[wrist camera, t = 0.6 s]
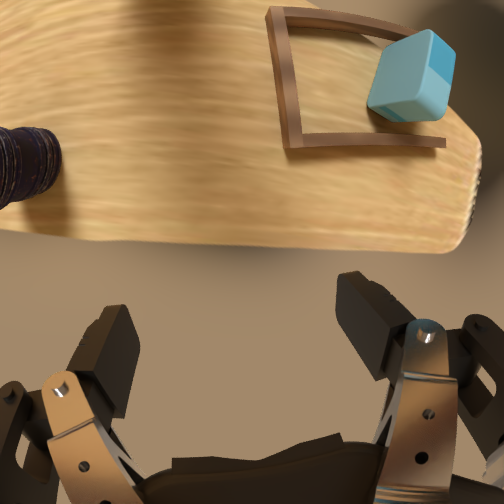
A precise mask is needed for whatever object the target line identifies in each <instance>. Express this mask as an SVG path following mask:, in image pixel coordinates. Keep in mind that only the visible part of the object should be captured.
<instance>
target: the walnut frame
mask: <svg viewBox="0 0 504 504" xmlns="http://www.w3.org/2000/svg"><path fill="white" fill-rule="evenodd" d="M265 20H266V26H267V32H268V38H269V45H270V51H271V58H272V64H273V71H274V78H275V85H276V93H277V100H278V108H279V116H280V124H281V133H282V142H283V148H301V147H317V146H340V145H400V146H423V147H438V148H446V138H441V137H431V136H420V135H407V134H390V133H312V134H302V126H301V118H300V110H299V102H298V94H297V87H296V80H295V73H294V66H293V60H292V54H291V48H290V42H289V36H288V31H287V27H307V28H319V29H329V30H338V31H345V32H352V33H358V34H364V35H369V36H374V37H379V38H384V39H388V40H392V41H396V42H397V41H399V40H402V39H404V38H406V37H409V36H411V35H414V34H416V33H419V31H416V30H413V29H410V28H407V27H403V26H400V25H397V24H393V23H389V22H386V21H382V20H377V19H374V18H369V17H364V16H360V15H354V14H349V13H343V12H336V11H330V10H322V9H312V8H301V7H282V6H270V7H269V9H268V12H267V14H266V16H265Z"/></svg>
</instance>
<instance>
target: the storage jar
mask: <svg viewBox="0 0 504 504" xmlns="http://www.w3.org/2000/svg"><path fill="white" fill-rule="evenodd" d="M60 167H61V149H60V145H59V142H58V140H57V138H56V136H55V135H54V134H53V133H52V132H51V131H49V130H47V129H43V128H35V127H20V128H15V129H13V130H8V129H6V128H3V127H0V210H1V209H3V208H4V207H5V206H7V205H8V204H9V203H11V202H19V201H23V200H25V199H29V198H31V197H34V196H36V195H37V194H40V193H43V192H45V191H47V190H48V189H49V188H50V187H51V186H52V185H53V183H54V182H55V180H56V178H57V176H58V174H59V171H60Z"/></svg>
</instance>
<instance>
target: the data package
mask: <svg viewBox="0 0 504 504" xmlns="http://www.w3.org/2000/svg"><path fill="white" fill-rule="evenodd" d="M455 57H456V55H455V52H454V51H453V49H451V48H450V47H449V46H448V45H447V44H446V43H445V42H444V41H443V40H442V39H441V38H440V37H438V36H437V35H436V34H435V33H434V32H433V31H431V30H428V29H427V30H424V31H421V32H419V33H416V34H414V35H411V36H409V37H406V38H404V39H402V40H399V41H397V42H395V43H393V44H390V45H388V46H387V47H386V48H385V49H384V50H383V52H382V55H381V58H380V62H379V65H378V68H377V72H376V75H375V78H374V81H373V84H372V88H371V91H370V94H369V97H368V100H367V106H368V107H369V108H370V109H372V110H373V111H375V112H377V113H378V114H380V115H381V116H383V117H384V118H386V119H388V120H389V121H391V122H413V121H437V120H439V119H441V118H442V117H443V115H444V114H445V112H446V108H447V104H448V99H449V94H450V88H451V83H452V77H453V71H454V64H455Z"/></svg>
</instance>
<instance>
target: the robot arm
mask: <svg viewBox="0 0 504 504" xmlns="http://www.w3.org/2000/svg"><path fill="white" fill-rule="evenodd" d="M335 311H336V317H337V321H338V323H339V325H340V326H341V328H342V329H343V331H344V332H345V334H346V336H347V337H348V339H349V340H350V342H351V343H352V345H353V346H354V348H355V349H356V351H357V353H358V354H359V356H360V357H361V359H362V360H363V362H364V364H365V365H366V367H367V368H368V370H369V371H370V373H371V375H372V376H373V378H374V379H375V381H378V380H381V379H384V378H386V377H387V378H388V379H389V381H390V382H389V385H388V388H387V393H386V397H385V401H384V405H383V409H382V413H381V417H380V420H379V424H378V427H377V430H376V433H375V436H374V438H373V440H372V443H367V442H343V440H342V437H341V435H340V433H336V434H333V435H329V436H326V437H322V438H318V439H314V440H311V441H306V442H303V443H299V444H297V445H295V446H292V447H290V448H288V449H286V450H283V451H281V452H279V453H276V454H274V455H271V456H269V457H267V458H264V459H261V460H256V461H254V460H240V459H229V458H222V457H214V456H210V457H193V458H192V457H190V458H172V468H170V469H167V470H163V471H160V472H158V473H155V474H154V475H151V476H150V477H148V476H147V475H146V474H145V473H144V472H143V471H142V470H141V468H140V467H139V466H138V465H137V463H136V462H135V460H134V459H133V458H132V456H131V455H130V453H129V452H128V450H127V449H126V447H125V446H124V444H123V443H122V441H121V440H120V438H119V436H118V435H117V433H116V431H115V430H114V428H113V427H112V426H111V422H112V418H123V419H124V417H125V413H126V408H127V403H128V399H129V394H130V390H131V386H132V381H133V377H134V373H135V369H136V365H137V361H138V357H139V353H140V342H139V337H138V335H137V332H136V330H135V327H134V324H133V322H132V319H131V317H130V314H129V311H128V308H127V307H126V305H124V304H121V305H111V306H106V307H105V308H104V310H103V312H102V313H101V315H100V317H99V319H98V320H95V321H94V322H93V323H92V324H91V325H90V326H89V327H88V328H87V330H86V331H85V333H84V335H83V339H81V341H80V343H79V346H78V347H77V348H76V350H75V352H74V354H73V356H72V358H71V360H70V362H69V364H68V367H67V369H66V371H60V372H57V373H55V374H53V375H51V376H50V377H49V378H48V379H47V380H46V381H45V383H44V384H43V386H42V389H41V390H36V391H31V392H27V391H26V390H25V388H24V387H23V385H22V384H21V383H20V382H18V381H11V382H8V383H6V384H5V385H4V386H2V387H1V388H0V504H56V500H57V492H58V486H59V479H60V480H61V482H62V484H63V487H64V489H65V491H66V494H67V495H68V498H69V500H70V502H71V504H504V331H503V330H502V329H500V327H498V325H496V324H495V323H494V322H493V321H492V320H491V319H489V318H488V317H486V316H484V315H480V314H472V315H469V316H467V317H466V318H465V320H464V323H463V326H462V328H461V329H452V330H445V329H444V327H443V326H442V325H440V324H439V323H437V322H435V321H433V320H430V319H416V318H415V317H414V316H413V315H412V314H411V313H410V312H409V311H408V310H407V309H406V308H405V307H404V306H403V305H402V304H401V303H400V302H399V301H397V300H396V298H395V297H394V296H393V295H391V294H390V292H389V291H388V290H387V289H386V288H385V287H383V286H382V285H380V284H378V283H376V282H374V281H369V280H368V279H367V278H366V277H365V276H363V275H362V274H361V273H360V272H359V271H353V272H347V273H342V274H339V276H338V279H337V294H336V309H335ZM481 366H482V367H483V368H484V369H485V370H486V371H487V373H488V374H489V375H490V376H491V377H492V379H493V380H494V381H495V383H496V394H495V396H494V397H493V396H492V394H491V393H490V392H489V390H488V389H487V388H486V386H485V385H484V384H483V382H482V381H481V380H480V379H479V377H478V376H477V373H478V371H479V370H480V368H481ZM457 415H459V416H460V418H461V419H462V421H463V422H464V424H465V426H466V427H467V429H468V431H469V432H470V434H471V436H472V437H473V439H474V441H475V442H476V444H477V446H478V447H479V449H480V451H481V453H482V454H483V456H484V458H485V459H486V461H487V463H486V471H485V472H484V473H483V476H482V479H483V482H484V483H482V482H478V481H474V480H471V479H468V478H464V477H461V476H458V475H455V474H452V469H453V462H454V455H455V446H456V434H457ZM21 434H23V435H24V436H25V437H26V438H27V439H28V440H29V441H30V444H29V447H28V450H27V454H26V457H25V461H24V465H23V469H22V468H20V466H19V465H18V463H17V461H16V458H15V454H16V450H17V446H18V443H19V440H20V437H21Z"/></svg>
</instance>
